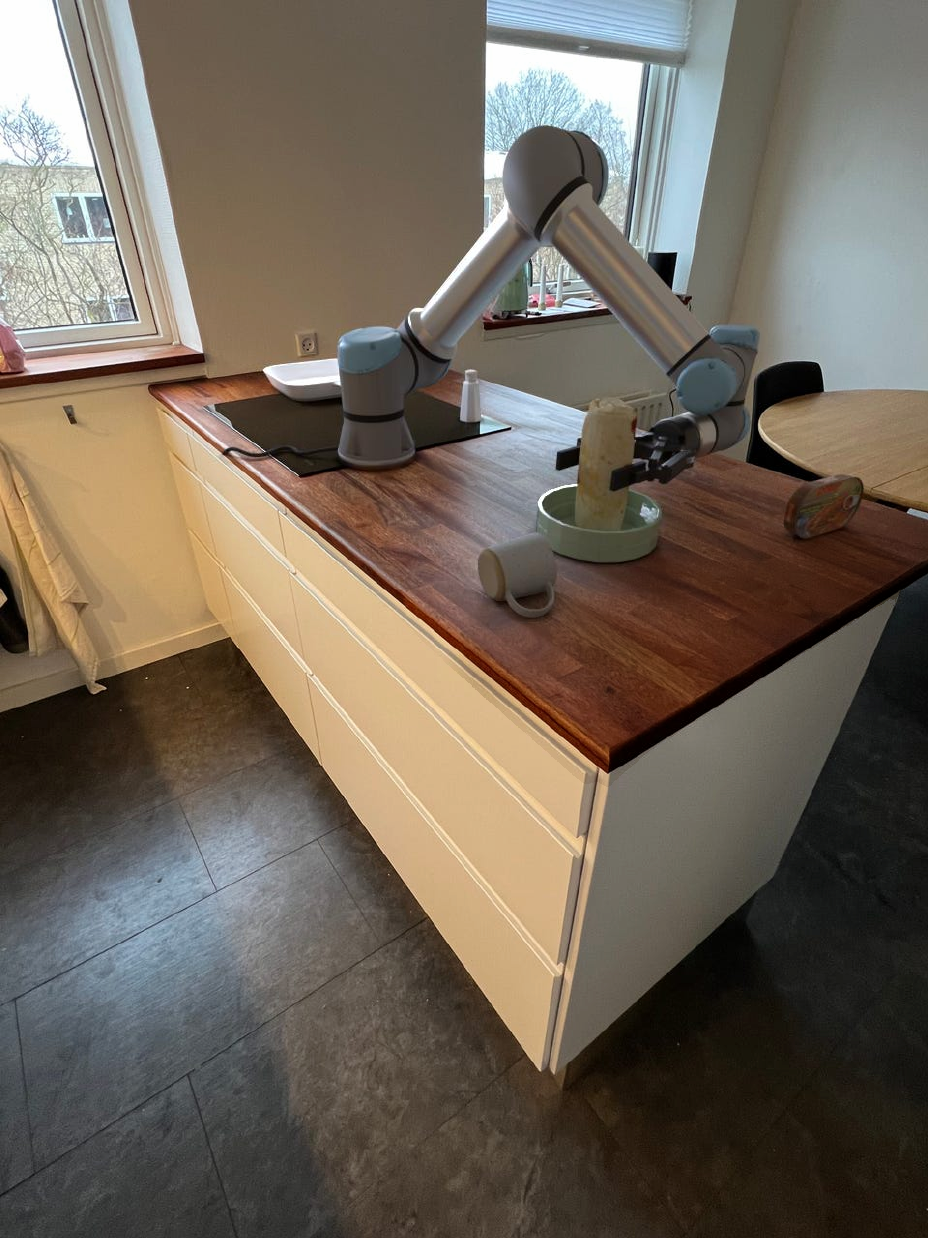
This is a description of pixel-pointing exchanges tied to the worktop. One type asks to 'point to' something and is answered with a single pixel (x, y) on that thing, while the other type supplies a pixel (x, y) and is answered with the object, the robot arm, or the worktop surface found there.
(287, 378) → the pan
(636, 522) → the bowl
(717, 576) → the worktop surface
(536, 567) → the ceramic mug
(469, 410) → the pepper shaker
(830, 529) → the tin
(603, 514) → the food model
